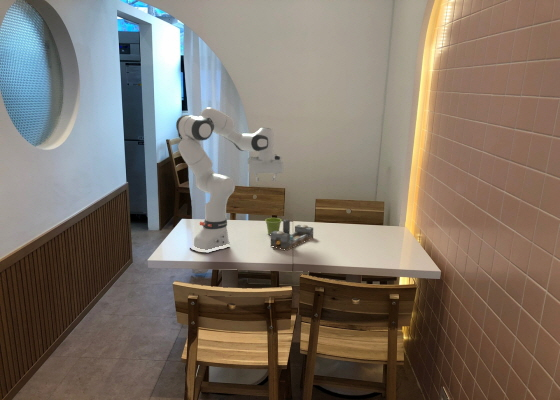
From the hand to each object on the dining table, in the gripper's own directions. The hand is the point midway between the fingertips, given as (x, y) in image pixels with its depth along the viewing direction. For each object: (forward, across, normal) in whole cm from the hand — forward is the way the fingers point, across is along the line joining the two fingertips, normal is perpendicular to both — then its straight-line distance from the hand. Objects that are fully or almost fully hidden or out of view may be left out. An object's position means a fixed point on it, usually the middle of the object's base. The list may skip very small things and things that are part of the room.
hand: (265, 180), depth 262 cm
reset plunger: (+31, +3, -25) cm, 39 cm away
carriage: (+31, +7, -21) cm, 38 cm away
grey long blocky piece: (+32, +12, -17) cm, 38 cm away
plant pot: (+32, +5, -1) cm, 32 cm away
